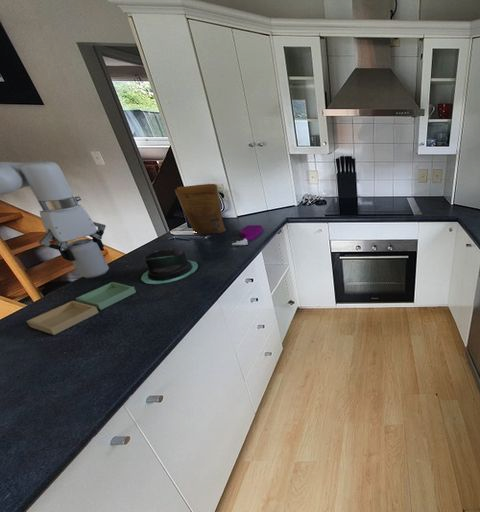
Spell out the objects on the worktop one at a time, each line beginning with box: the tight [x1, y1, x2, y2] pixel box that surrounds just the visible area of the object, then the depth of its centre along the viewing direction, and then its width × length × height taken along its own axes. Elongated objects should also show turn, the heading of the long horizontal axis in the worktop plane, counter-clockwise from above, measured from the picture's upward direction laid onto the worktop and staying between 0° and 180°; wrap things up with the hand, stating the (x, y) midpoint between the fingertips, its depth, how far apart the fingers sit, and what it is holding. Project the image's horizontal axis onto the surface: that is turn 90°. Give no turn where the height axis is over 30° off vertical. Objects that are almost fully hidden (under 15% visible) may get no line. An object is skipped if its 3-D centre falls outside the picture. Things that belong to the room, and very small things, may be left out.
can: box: [66, 238, 110, 279], centre depth 92 cm, size 8×8×12 cm
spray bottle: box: [231, 224, 264, 246], centre depth 152 cm, size 3×11×24 cm
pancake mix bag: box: [174, 183, 227, 236], centre depth 151 cm, size 7×19×28 cm, turn 112°
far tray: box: [75, 281, 137, 311], centre depth 99 cm, size 11×11×2 cm
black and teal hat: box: [140, 248, 199, 285], centre depth 117 cm, size 15×19×20 cm
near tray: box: [26, 300, 100, 336], centre depth 88 cm, size 11×11×2 cm
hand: (85, 254), depth 92 cm, fingers closed on can, 7 cm apart
